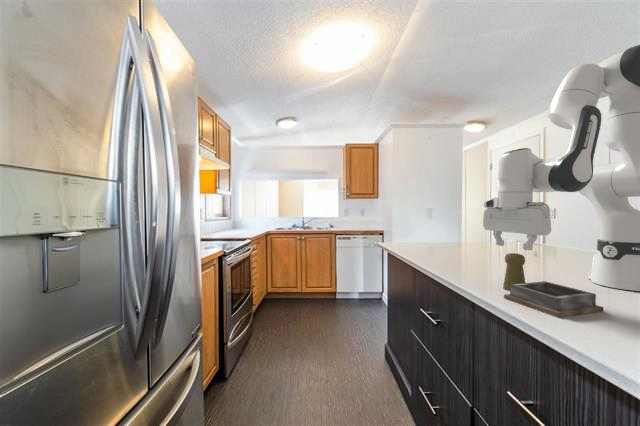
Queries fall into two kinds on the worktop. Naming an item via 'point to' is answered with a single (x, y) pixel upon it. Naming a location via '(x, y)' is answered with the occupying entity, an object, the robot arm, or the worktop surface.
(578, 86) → the robot arm
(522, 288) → the grey-rimmed square tray
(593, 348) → the worktop surface
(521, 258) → the cork
